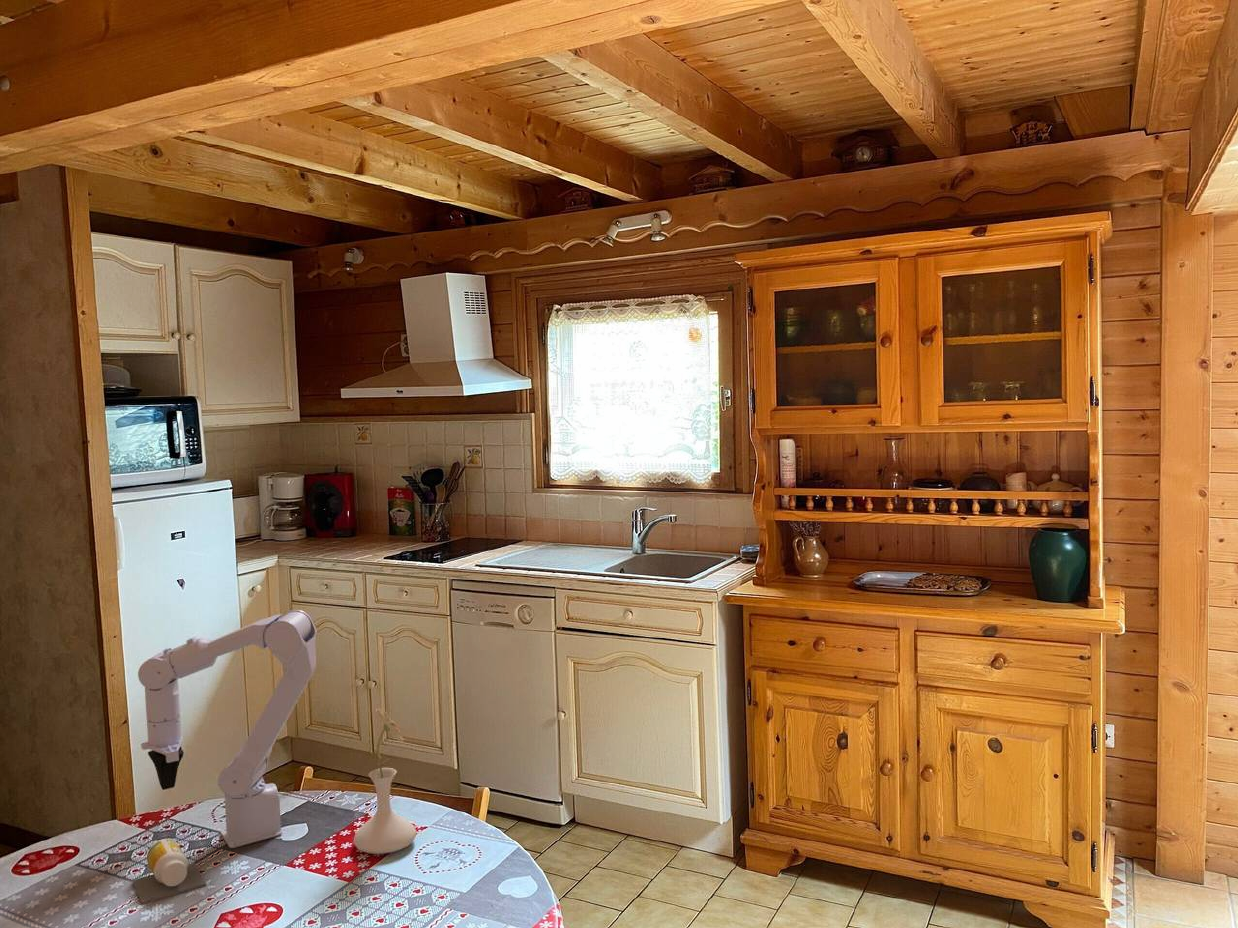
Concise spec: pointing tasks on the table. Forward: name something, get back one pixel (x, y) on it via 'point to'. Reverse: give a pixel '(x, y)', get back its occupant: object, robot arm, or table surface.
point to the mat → (155, 890)
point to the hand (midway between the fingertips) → (167, 787)
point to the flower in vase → (384, 807)
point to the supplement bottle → (167, 862)
